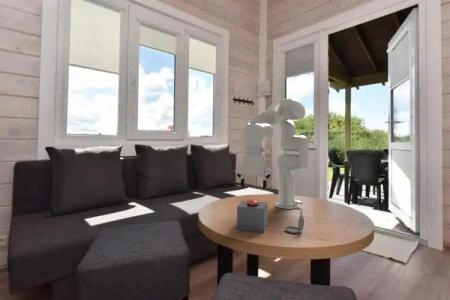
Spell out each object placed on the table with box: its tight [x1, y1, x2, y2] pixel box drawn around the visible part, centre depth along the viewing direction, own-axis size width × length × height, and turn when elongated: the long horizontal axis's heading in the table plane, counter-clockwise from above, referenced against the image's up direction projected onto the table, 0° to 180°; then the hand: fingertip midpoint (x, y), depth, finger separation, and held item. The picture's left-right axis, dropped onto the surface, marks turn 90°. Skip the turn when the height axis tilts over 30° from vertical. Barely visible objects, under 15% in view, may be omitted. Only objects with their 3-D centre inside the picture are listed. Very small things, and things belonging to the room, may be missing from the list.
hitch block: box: [236, 199, 268, 234], centre depth 115 cm, size 12×12×10 cm
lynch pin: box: [246, 199, 260, 206], centre depth 115 cm, size 6×6×12 cm
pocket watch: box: [284, 209, 305, 234], centre depth 109 cm, size 8×8×10 cm
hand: (253, 188), depth 115 cm, fingers open, 9 cm apart
